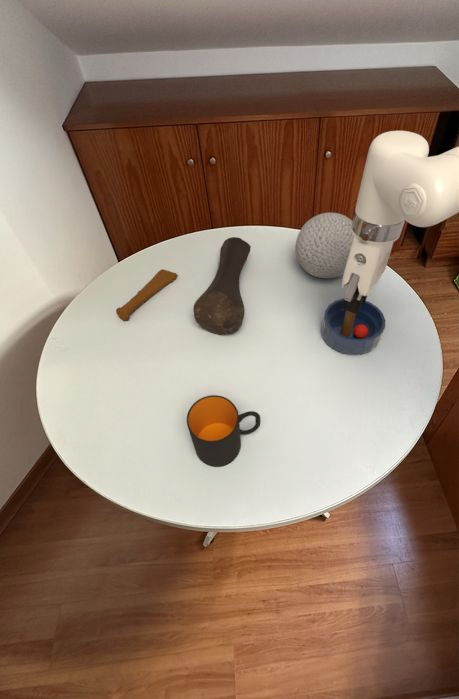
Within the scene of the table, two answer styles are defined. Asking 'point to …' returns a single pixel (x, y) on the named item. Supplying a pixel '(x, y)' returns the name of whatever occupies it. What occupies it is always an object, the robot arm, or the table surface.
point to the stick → (348, 322)
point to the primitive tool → (146, 293)
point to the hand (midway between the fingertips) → (353, 305)
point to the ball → (360, 331)
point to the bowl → (352, 344)
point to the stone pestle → (224, 291)
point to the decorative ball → (325, 245)
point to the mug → (217, 429)
